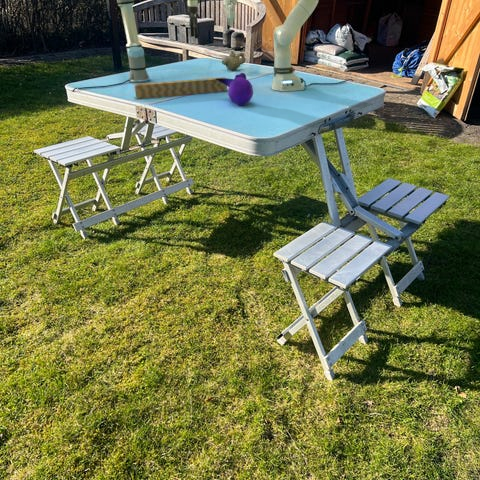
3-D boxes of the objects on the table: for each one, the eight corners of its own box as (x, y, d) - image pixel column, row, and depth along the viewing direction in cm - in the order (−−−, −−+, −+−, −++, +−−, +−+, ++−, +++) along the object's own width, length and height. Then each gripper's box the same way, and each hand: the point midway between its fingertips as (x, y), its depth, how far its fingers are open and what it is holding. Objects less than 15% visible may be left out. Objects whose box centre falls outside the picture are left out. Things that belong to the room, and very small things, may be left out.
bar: (136, 99, 288) (134, 85, 284) (135, 97, 293) (134, 84, 289) (227, 91, 303) (226, 78, 299) (224, 89, 308) (224, 77, 304)
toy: (238, 95, 290) (253, 110, 269) (212, 91, 282) (225, 106, 262) (244, 71, 282) (260, 84, 261) (218, 65, 274) (232, 78, 254)
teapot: (225, 72, 363) (224, 52, 355) (218, 70, 371) (218, 50, 364) (248, 69, 372) (247, 50, 364) (241, 67, 381) (240, 48, 373)
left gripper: (201, 7, 326) (203, 38, 337) (193, 5, 347) (195, 35, 358) (191, 7, 324) (193, 39, 335) (184, 5, 345) (186, 36, 356)
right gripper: (237, 1, 269) (237, 27, 276) (233, 0, 287) (233, 24, 294) (227, 2, 269) (227, 27, 276) (223, 0, 286) (223, 24, 293)
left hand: (194, 37), depth 346 cm, fingers open, 13 cm apart
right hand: (230, 25), depth 285 cm, fingers open, 8 cm apart
